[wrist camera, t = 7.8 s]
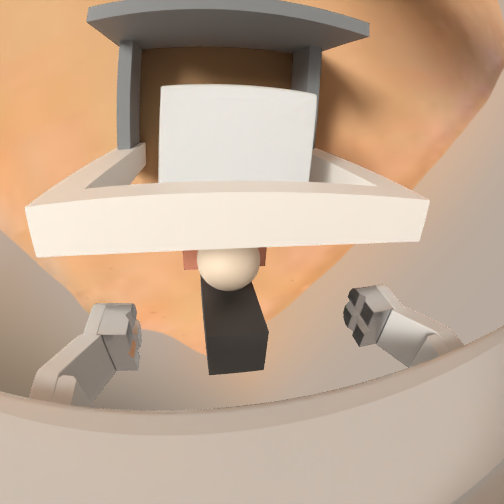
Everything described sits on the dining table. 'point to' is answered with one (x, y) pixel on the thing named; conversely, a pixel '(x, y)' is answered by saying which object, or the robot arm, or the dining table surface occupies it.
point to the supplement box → (235, 133)
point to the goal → (218, 192)
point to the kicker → (231, 308)
